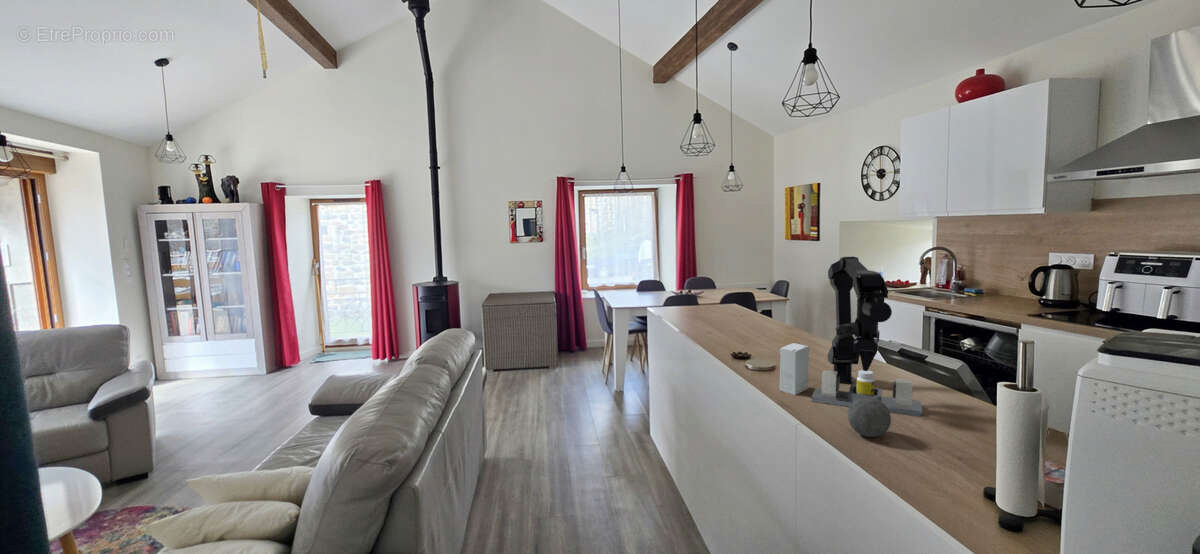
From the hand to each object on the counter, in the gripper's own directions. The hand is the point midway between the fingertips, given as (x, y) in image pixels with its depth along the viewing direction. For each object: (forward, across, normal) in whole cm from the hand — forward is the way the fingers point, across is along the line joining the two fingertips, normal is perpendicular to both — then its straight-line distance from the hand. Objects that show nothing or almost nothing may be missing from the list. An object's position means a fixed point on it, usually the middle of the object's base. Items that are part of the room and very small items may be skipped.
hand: (866, 366), depth 157 cm
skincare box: (+12, -4, -21) cm, 25 cm away
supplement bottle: (+10, 0, 0) cm, 10 cm away
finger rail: (+12, 0, 0) cm, 12 cm away
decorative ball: (+12, +24, +2) cm, 27 cm away
